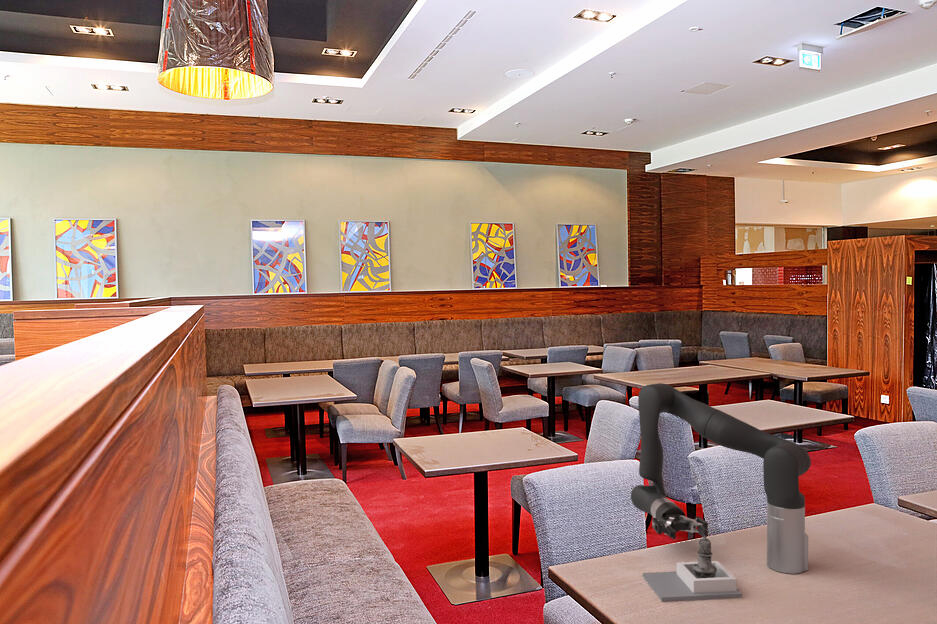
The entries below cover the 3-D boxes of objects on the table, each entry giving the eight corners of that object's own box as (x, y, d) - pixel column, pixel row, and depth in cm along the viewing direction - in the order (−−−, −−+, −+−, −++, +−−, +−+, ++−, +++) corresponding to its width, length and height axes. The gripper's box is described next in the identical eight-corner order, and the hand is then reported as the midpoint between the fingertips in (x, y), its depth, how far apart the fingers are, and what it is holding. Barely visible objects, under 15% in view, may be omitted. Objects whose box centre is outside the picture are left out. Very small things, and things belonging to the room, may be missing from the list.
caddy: (716, 573, 179) (716, 558, 178) (741, 597, 165) (741, 581, 165) (642, 576, 177) (642, 561, 177) (661, 601, 163) (661, 585, 163)
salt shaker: (719, 587, 168) (719, 540, 167) (694, 586, 169) (694, 538, 169) (715, 577, 174) (715, 531, 173) (691, 576, 175) (691, 530, 174)
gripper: (643, 502, 196) (664, 522, 180) (691, 500, 197) (715, 520, 181) (643, 528, 196) (664, 549, 180) (691, 526, 198) (715, 547, 181)
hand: (690, 534), depth 181 cm, fingers open, 8 cm apart
